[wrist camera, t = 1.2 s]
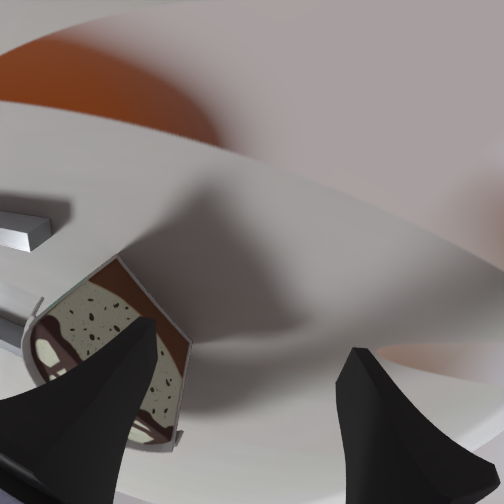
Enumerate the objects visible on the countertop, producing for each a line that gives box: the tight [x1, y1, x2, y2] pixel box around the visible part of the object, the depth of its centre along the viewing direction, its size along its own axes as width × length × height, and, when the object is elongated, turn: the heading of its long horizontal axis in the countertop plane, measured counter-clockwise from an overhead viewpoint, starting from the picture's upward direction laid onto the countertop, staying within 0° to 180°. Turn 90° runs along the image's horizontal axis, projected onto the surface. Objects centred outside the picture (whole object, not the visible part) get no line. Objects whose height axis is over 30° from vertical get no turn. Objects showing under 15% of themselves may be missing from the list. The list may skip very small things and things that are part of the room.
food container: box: [21, 254, 192, 453], centre depth 19 cm, size 12×6×10 cm, turn 33°
